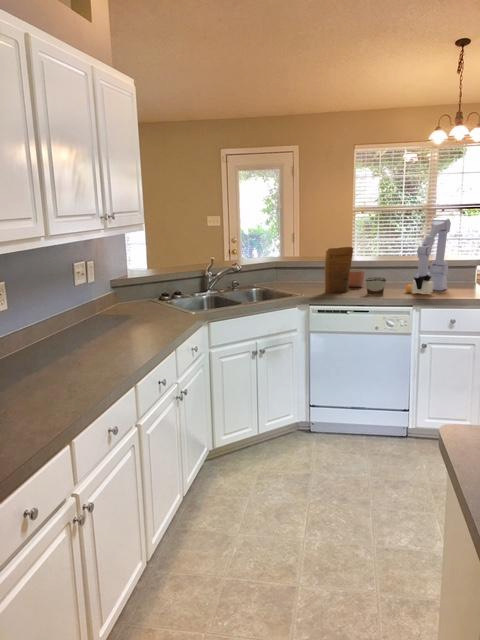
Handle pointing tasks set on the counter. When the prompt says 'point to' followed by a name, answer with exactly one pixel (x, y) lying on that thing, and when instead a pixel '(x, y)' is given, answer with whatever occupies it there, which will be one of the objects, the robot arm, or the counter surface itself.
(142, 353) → the counter surface
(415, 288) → the cream white block
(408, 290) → the ball
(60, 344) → the counter surface
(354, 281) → the planter
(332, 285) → the pancake mix bag
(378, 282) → the food container
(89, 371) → the counter surface
